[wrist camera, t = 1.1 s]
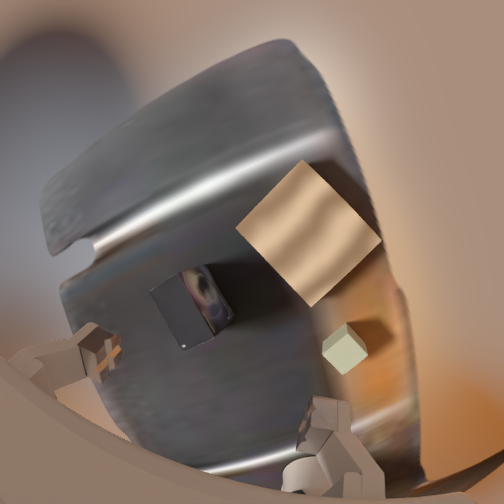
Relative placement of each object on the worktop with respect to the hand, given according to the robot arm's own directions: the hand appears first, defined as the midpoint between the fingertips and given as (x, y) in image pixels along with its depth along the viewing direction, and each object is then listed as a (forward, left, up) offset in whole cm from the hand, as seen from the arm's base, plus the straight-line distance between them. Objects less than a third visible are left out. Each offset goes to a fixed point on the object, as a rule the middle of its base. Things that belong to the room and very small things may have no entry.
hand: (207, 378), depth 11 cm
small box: (+6, +16, -37) cm, 40 cm away
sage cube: (-15, +4, -37) cm, 40 cm away
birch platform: (+2, -4, -36) cm, 37 cm away
